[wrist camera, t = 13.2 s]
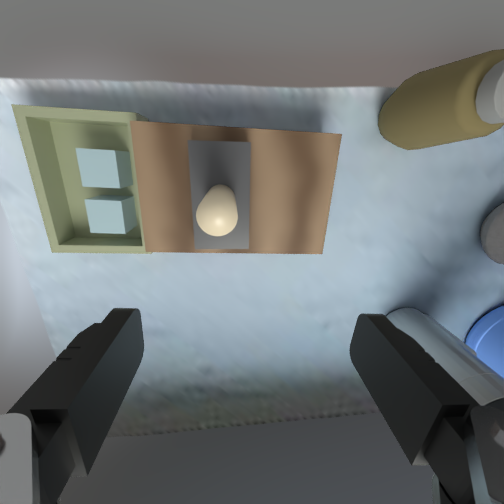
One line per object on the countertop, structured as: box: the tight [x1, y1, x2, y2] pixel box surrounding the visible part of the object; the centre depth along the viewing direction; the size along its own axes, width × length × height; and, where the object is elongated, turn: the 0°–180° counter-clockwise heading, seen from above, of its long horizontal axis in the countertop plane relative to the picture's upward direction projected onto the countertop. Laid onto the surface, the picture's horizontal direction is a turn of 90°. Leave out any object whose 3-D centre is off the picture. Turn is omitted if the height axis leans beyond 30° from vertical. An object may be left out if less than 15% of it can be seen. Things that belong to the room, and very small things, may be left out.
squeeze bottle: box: [378, 49, 504, 150], centre depth 23 cm, size 8×8×18 cm
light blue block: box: [84, 195, 137, 234], centre depth 30 cm, size 4×4×4 cm
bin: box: [11, 104, 153, 254], centre depth 29 cm, size 12×16×4 cm
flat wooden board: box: [130, 121, 342, 254], centre depth 30 cm, size 22×14×6 cm, turn 87°
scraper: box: [188, 140, 251, 249], centre depth 22 cm, size 6×11×10 cm, turn 178°
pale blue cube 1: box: [75, 148, 133, 188], centre depth 28 cm, size 4×4×4 cm
